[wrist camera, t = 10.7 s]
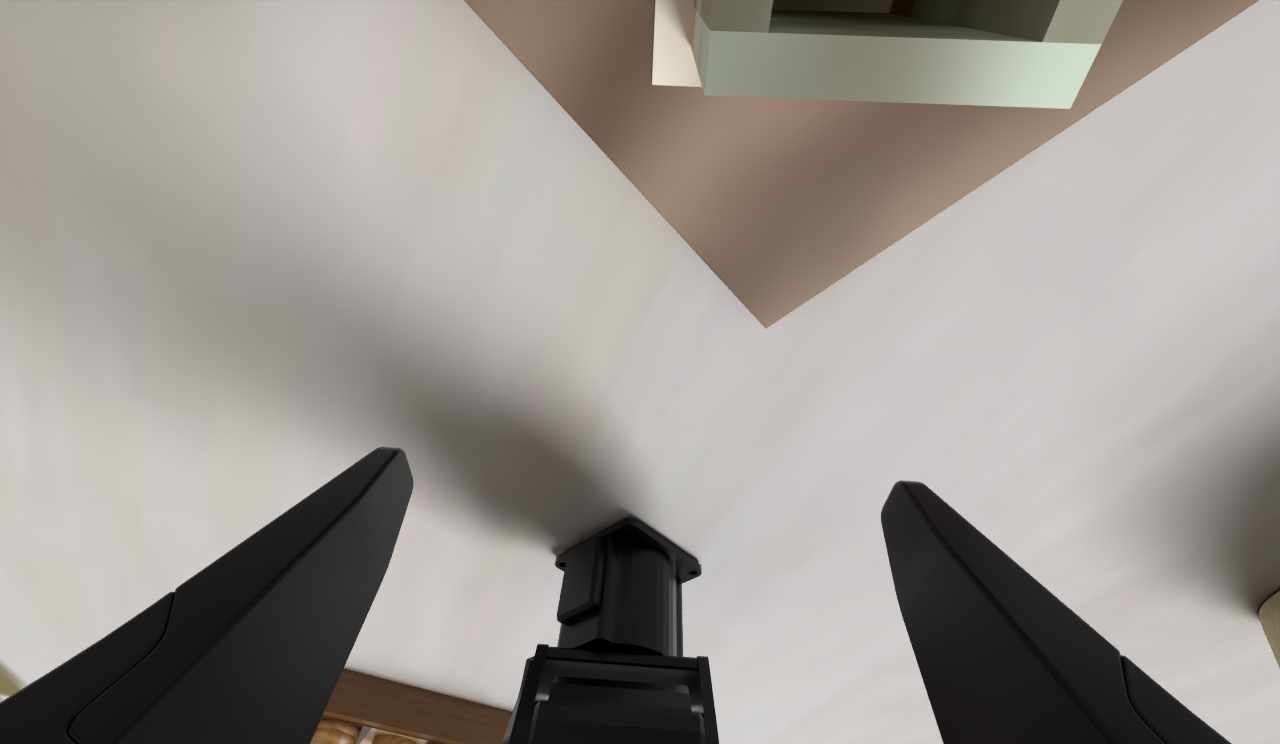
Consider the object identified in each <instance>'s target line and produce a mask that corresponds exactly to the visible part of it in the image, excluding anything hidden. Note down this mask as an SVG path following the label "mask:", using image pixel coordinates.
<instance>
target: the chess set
mask: <svg viewBox="0 0 1280 744" xmlns="http://www.w3.org/2000/svg"><path fill="white" fill-rule="evenodd" d="M512 713H513V712H509V711H505V710H502V709H498V708H494V707H490V706H486V705H482V704H478V703H474V702H470V701H467V700H463V699H459V698H455V697H451V696H447V695H443V694H439V693H435V692H431V691H428V690H424V689H420V688H416V687H412V686H408V685H404V684H400V683H396V682H393V681H389V680H385V679H381V678H377V677H373V676H369V675H365V674H361V673H358V672H354V671H350V670H346V669H343V670H342V673H341V675H340V677H339V679H338V682H337V684H336V686H335V688H334V691H333V693H332V695H331V698H330V700H329V702H328V704H327V707H326V709H325V711H324V713H323V716H322V718H321V720H320V722H319V725H318V727H317V729H316V731H315V734H314V736H313V738H312V740H311V743H310V744H502V741H503V738H504V735H505V732H506V730H507V727H508V724H509V721H510V718H511V716H512Z"/></svg>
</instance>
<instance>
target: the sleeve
mask: <svg viewBox="0 0 1280 744" xmlns="http://www.w3.org/2000/svg"><path fill="white" fill-rule="evenodd" d="M1122 2H1123V0H893V1H892V5H891V9H890V12H889V13H868V12H838V11H808V10H778V9H772V5H773V0H694V10H693V23H692V37H691V49H692V53H693V57H694V60H695V64H696V67H697V71H698V74H699V78H700V81H701V85H702V88H703V92H704V95H707V96H734V97H761V98H788V99H816V100H843V101H870V102H897V103H924V104H951V105H978V106H1005V107H1032V108H1059V109H1070V108H1071V106H1072V104H1073V102H1074V100H1075V98H1076V96H1077V94H1078V92H1079V90H1080V88H1081V86H1082V84H1083V82H1084V80H1085V78H1086V76H1087V73H1088V71H1089V69H1090V67H1091V65H1092V63H1093V61H1094V59H1095V57H1096V55H1097V53H1098V51H1099V49H1100V47H1101V45H1102V43H1103V41H1104V39H1105V37H1106V35H1107V32H1108V30H1109V28H1110V26H1111V24H1112V22H1113V20H1114V18H1115V16H1116V14H1117V12H1118V10H1119V8H1120V6H1121V4H1122Z"/></svg>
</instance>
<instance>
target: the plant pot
mask: <svg viewBox="0 0 1280 744" xmlns="http://www.w3.org/2000/svg"><path fill="white" fill-rule="evenodd" d="M1259 620H1260V622H1261V625H1262V627H1263V630H1264V632H1265V635H1266V637H1267V639H1268V642H1269V644H1270V646H1271V649H1272V651H1273V653H1274V656H1275V658H1276V660H1277V663H1278V665H1279V667H1280V591H1278V592H1277V593H1276V594H1274V595H1273V596H1271V597H1270V598H1269V599H1268V600H1267V601H1266V602H1265V603H1264V604H1263V605H1262V606H1261V608H1260V610H1259Z"/></svg>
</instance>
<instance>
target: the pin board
mask: <svg viewBox="0 0 1280 744" xmlns="http://www.w3.org/2000/svg"><path fill="white" fill-rule="evenodd" d="M464 1H465V2H466V3H467V4H468V5H469V6H470V7H471V8H472V10H473V11H474V12H475V13H476V14H477V15H478V16H479V17H480V18H481V19H482V20H483V21H484V23H485V24H486V25H487V26H488V27H489V28H490V29H491V30H492V31H493V32H494V33H495V35H496V36H497V37H498V38H499V39H500V40H501V41H502V42H503V43H504V44H505V45H506V47H507V48H508V49H509V50H510V51H511V52H512V53H513V54H514V55H515V56H516V57H517V58H518V60H519V61H520V62H521V63H522V64H523V65H524V66H525V67H526V68H527V69H528V70H529V72H530V73H531V74H532V75H533V76H534V77H535V78H536V79H537V80H538V81H539V82H540V84H541V85H542V86H543V87H544V88H545V89H546V90H547V91H548V92H549V93H550V94H551V95H552V97H553V98H554V99H555V100H556V101H557V102H558V103H559V104H560V105H561V106H562V107H563V109H564V110H565V111H566V112H567V113H568V114H569V115H570V116H571V117H572V118H573V119H574V120H575V122H576V123H577V124H578V125H579V126H580V127H581V128H582V129H583V130H584V131H585V132H586V134H587V135H588V136H589V137H590V138H591V139H592V140H593V141H594V142H595V143H596V144H597V146H598V147H599V148H600V149H601V150H602V151H603V152H604V153H605V154H606V155H607V156H608V157H609V159H610V160H611V161H612V162H613V163H614V164H615V165H616V166H617V167H618V168H619V169H620V171H621V172H622V173H623V174H624V175H625V176H626V177H627V178H628V179H629V180H630V181H631V182H632V184H633V185H634V186H635V187H636V188H637V189H638V190H639V191H640V192H641V193H642V194H643V196H644V197H645V198H646V199H647V200H648V201H649V202H650V203H651V204H652V205H653V206H654V208H655V209H656V210H657V211H658V212H659V213H660V214H661V215H662V216H663V217H664V218H665V219H666V221H667V222H668V223H669V224H670V225H671V226H672V227H673V228H674V229H675V230H676V231H677V233H678V234H679V235H680V236H681V237H682V238H683V239H684V240H685V241H686V242H687V243H688V245H689V246H690V247H691V248H692V249H693V250H694V251H695V252H696V253H697V254H698V255H699V256H700V258H701V259H702V260H703V261H704V262H705V263H706V264H707V265H708V266H709V267H710V268H711V270H712V271H713V272H714V273H715V274H716V275H717V276H718V277H719V278H720V279H721V280H722V281H723V283H724V284H725V285H726V286H727V287H728V288H729V289H730V290H731V291H732V292H733V293H734V295H735V296H736V297H737V298H738V299H739V300H740V301H741V302H742V303H743V304H744V305H745V307H746V308H747V309H748V310H749V311H750V312H751V313H752V314H753V315H754V316H755V317H756V318H757V320H758V321H759V322H760V323H761V324H762V325H763V326H764V327H765V328H767V327H769V326H770V325H772V324H773V323H775V322H776V321H778V320H779V319H781V318H783V317H784V316H786V315H787V314H789V313H790V312H792V311H793V310H795V309H796V308H798V307H799V306H801V305H802V304H804V303H805V302H807V301H808V300H810V299H811V298H813V297H814V296H816V295H817V294H819V293H820V292H822V291H823V290H825V289H826V288H828V287H829V286H831V285H832V284H834V283H835V282H837V281H838V280H840V279H841V278H843V277H844V276H846V275H847V274H849V273H850V272H852V271H853V270H855V269H856V268H858V267H859V266H861V265H862V264H864V263H865V262H867V261H868V260H870V259H871V258H873V257H874V256H876V255H877V254H879V253H880V252H882V251H883V250H885V249H886V248H888V247H889V246H891V245H892V244H894V243H895V242H897V241H898V240H900V239H901V238H903V237H904V236H906V235H907V234H909V233H910V232H912V231H913V230H915V229H916V228H918V227H919V226H921V225H922V224H924V223H925V222H927V221H928V220H930V219H931V218H933V217H934V216H936V215H937V214H939V213H940V212H942V211H943V210H945V209H946V208H948V207H949V206H951V205H952V204H954V203H955V202H957V201H958V200H960V199H961V198H963V197H964V196H966V195H967V194H969V193H970V192H972V191H973V190H975V189H976V188H978V187H979V186H981V185H982V184H984V183H985V182H987V181H988V180H990V179H991V178H993V177H994V176H996V175H997V174H999V173H1000V172H1002V171H1003V170H1005V169H1006V168H1008V167H1009V166H1011V165H1012V164H1014V163H1015V162H1017V161H1018V160H1020V159H1021V158H1023V157H1024V156H1026V155H1027V154H1029V153H1030V152H1032V151H1033V150H1035V149H1036V148H1038V147H1039V146H1041V145H1042V144H1044V143H1045V142H1047V141H1048V140H1050V139H1051V138H1053V137H1054V136H1056V135H1057V134H1059V133H1060V132H1062V131H1064V130H1065V129H1067V128H1068V127H1070V126H1071V125H1073V124H1074V123H1076V122H1077V121H1079V120H1080V119H1082V118H1083V117H1085V116H1086V115H1088V114H1089V113H1091V112H1092V111H1094V110H1095V109H1097V108H1098V107H1100V106H1101V105H1103V104H1104V103H1106V102H1107V101H1109V100H1110V99H1112V98H1113V97H1115V96H1116V95H1118V94H1119V93H1121V92H1122V91H1124V90H1125V89H1127V88H1128V87H1130V86H1131V85H1133V84H1134V83H1136V82H1137V81H1139V80H1140V79H1142V78H1143V77H1145V76H1146V75H1148V74H1149V73H1151V72H1152V71H1154V70H1155V69H1157V68H1158V67H1160V66H1161V65H1163V64H1164V63H1166V62H1167V61H1169V60H1170V59H1172V58H1173V57H1175V56H1176V55H1178V54H1179V53H1181V52H1182V51H1184V50H1185V49H1187V48H1188V47H1190V46H1191V45H1193V44H1194V43H1196V42H1197V41H1199V40H1200V39H1202V38H1203V37H1205V36H1206V35H1208V34H1209V33H1211V32H1212V31H1214V30H1215V29H1217V28H1218V27H1220V26H1221V25H1223V24H1224V23H1226V22H1227V21H1229V20H1230V19H1232V18H1233V17H1235V16H1236V15H1238V14H1239V13H1241V12H1242V11H1244V10H1245V9H1247V8H1248V7H1250V6H1251V5H1253V4H1254V3H1256V2H1257V1H1259V0H1123V2H1122V4H1121V6H1120V8H1119V10H1118V12H1117V14H1116V16H1115V18H1114V20H1113V22H1112V24H1111V26H1110V28H1109V30H1108V32H1107V35H1106V37H1105V39H1104V41H1103V43H1102V45H1101V47H1100V49H1099V51H1098V53H1097V55H1096V57H1095V59H1094V61H1093V63H1092V65H1091V67H1090V69H1089V71H1088V73H1087V76H1086V78H1085V80H1084V82H1083V84H1082V86H1081V88H1080V90H1079V92H1078V94H1077V96H1076V98H1075V100H1074V102H1073V104H1072V106H1071V108H1070V109H1059V108H1032V107H1005V106H978V105H951V104H924V103H897V102H870V101H843V100H816V99H788V98H761V97H734V96H707V95H704V92H703V88H702V85H701V81H700V78H699V74H698V71H697V67H696V64H695V60H694V57H693V53H692V49H691V37H692V23H693V10H694V0H464ZM892 1H893V0H773V5H772V9H778V10H808V11H838V12H868V13H889V12H890V9H891V5H892Z"/></svg>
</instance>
